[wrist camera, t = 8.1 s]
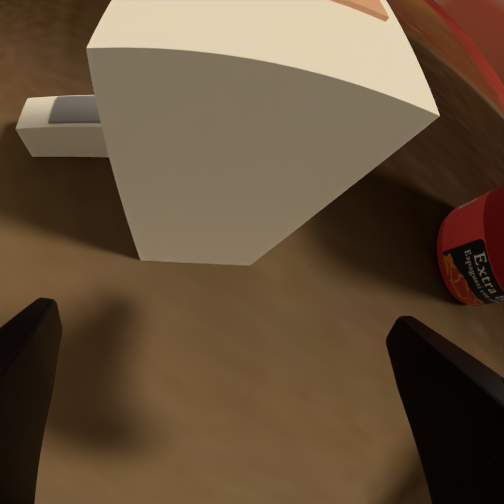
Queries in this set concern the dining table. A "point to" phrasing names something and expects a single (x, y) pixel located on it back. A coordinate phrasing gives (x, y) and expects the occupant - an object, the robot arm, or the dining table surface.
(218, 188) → the carton
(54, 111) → the rail
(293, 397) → the dining table surface
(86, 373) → the dining table surface
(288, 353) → the dining table surface
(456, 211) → the canned food
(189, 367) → the dining table surface
